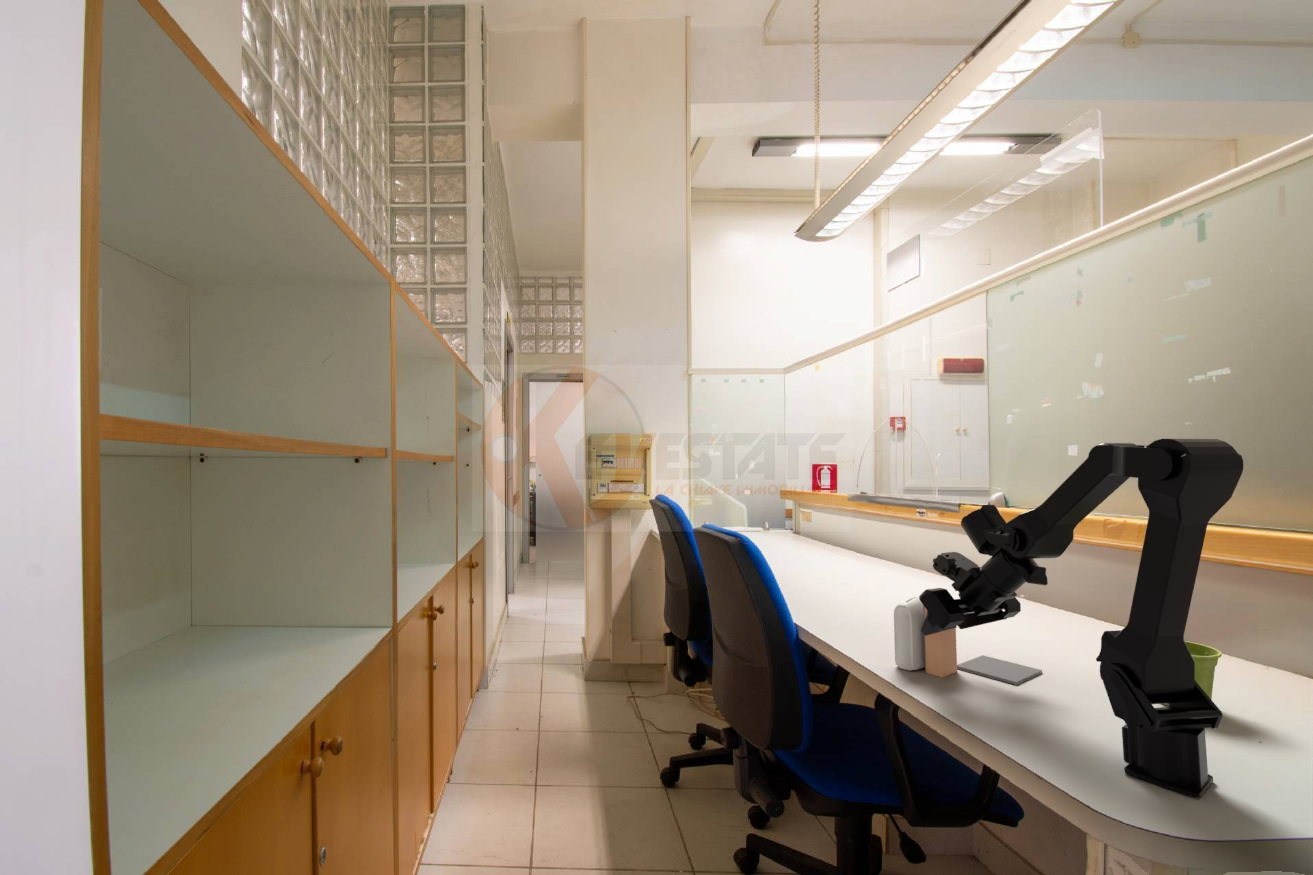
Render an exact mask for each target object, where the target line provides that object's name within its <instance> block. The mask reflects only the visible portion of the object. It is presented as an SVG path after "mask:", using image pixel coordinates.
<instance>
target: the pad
mask: <svg viewBox="0 0 1313 875" xmlns="http://www.w3.org/2000/svg"><path fill="white" fill-rule="evenodd" d="M957 670H961V671H964V672H967V673H972V674H974V675H978V676H981V677H986V678H989V679H993V680H996V681H1000V682H1004V683H1008V684H1011V685H1014V686H1017V685H1020V684H1023V683H1024V682H1026V681H1028V680H1031V679H1033V678H1035V677H1037V676H1039V675H1041V674H1042V673H1043V670H1042V669H1039V668H1035V667H1030V666H1027V665H1023V664H1018V663H1017V662H1015V663H1014V662H1012V661H1007V660H1003V659H1000V658H999V659H998V658H995V657H991V656H987V655H980V656H977V657H974V658H972V659H969V660H967V661H964V662H962V663H959V664H958V663H957Z"/></svg>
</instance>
